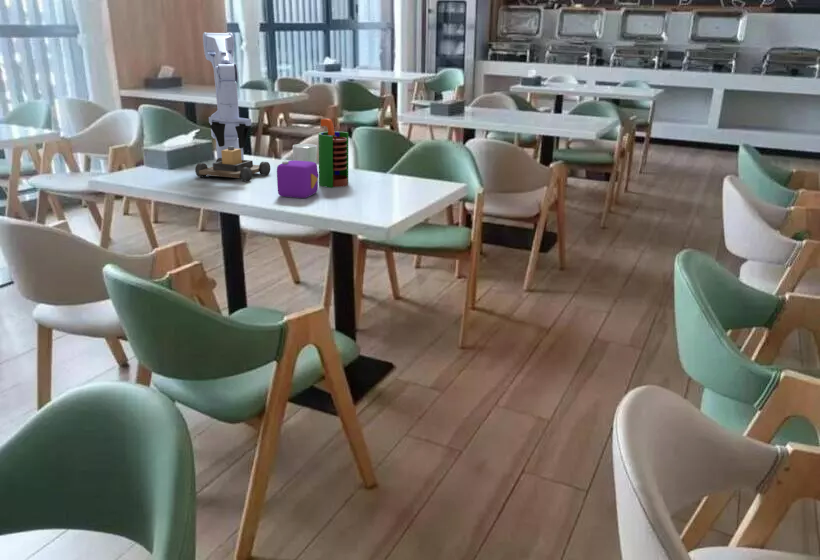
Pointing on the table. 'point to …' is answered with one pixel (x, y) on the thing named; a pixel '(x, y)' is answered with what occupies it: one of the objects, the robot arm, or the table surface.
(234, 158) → the tan block with knob
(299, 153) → the white cup
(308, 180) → the purple arrow cube
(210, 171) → the chassis
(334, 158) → the motor
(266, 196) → the table surface
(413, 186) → the table surface
